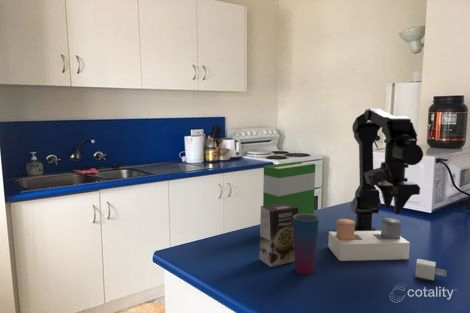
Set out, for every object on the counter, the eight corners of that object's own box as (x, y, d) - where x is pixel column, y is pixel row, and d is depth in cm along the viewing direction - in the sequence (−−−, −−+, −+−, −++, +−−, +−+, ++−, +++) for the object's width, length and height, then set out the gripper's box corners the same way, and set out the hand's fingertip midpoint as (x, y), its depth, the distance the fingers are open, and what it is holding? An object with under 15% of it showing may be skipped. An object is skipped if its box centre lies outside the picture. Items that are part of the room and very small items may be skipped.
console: (328, 246, 118) (328, 231, 117) (391, 245, 119) (392, 230, 118) (339, 260, 107) (340, 244, 107) (408, 259, 109) (409, 242, 108)
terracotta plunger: (333, 236, 115) (334, 218, 114) (350, 235, 115) (351, 218, 114) (339, 242, 109) (340, 224, 109) (356, 242, 110) (357, 224, 109)
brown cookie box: (270, 267, 103) (271, 211, 100) (258, 259, 108) (259, 205, 106) (297, 261, 107) (299, 207, 105) (284, 253, 113) (285, 201, 110)
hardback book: (298, 224, 140) (299, 161, 136) (313, 229, 134) (315, 164, 131) (262, 234, 129) (263, 166, 126) (277, 240, 123) (279, 169, 120)
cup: (318, 267, 103) (320, 214, 101) (315, 277, 97) (317, 222, 95) (294, 263, 105) (295, 212, 103) (289, 274, 99) (290, 219, 97)
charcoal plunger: (378, 235, 115) (379, 218, 115) (394, 234, 116) (395, 217, 115) (385, 241, 110) (386, 223, 110) (402, 241, 111) (403, 223, 110)
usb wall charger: (416, 271, 101) (417, 257, 100) (445, 277, 97) (447, 263, 96) (415, 277, 97) (416, 263, 97) (445, 284, 94) (446, 269, 93)
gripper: (356, 155, 118) (353, 203, 121) (383, 165, 100) (379, 221, 102) (390, 155, 119) (387, 202, 121) (423, 164, 101) (419, 220, 103)
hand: (391, 211), depth 112 cm, fingers open, 6 cm apart
